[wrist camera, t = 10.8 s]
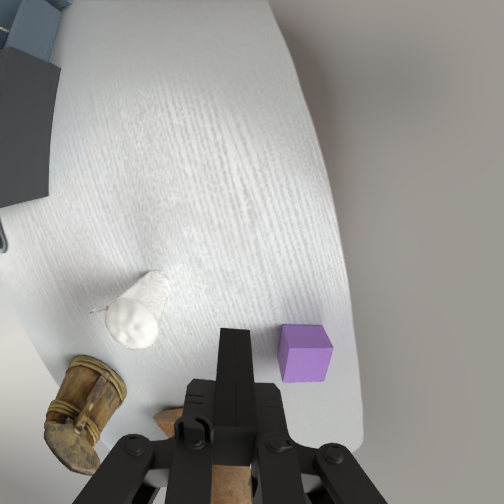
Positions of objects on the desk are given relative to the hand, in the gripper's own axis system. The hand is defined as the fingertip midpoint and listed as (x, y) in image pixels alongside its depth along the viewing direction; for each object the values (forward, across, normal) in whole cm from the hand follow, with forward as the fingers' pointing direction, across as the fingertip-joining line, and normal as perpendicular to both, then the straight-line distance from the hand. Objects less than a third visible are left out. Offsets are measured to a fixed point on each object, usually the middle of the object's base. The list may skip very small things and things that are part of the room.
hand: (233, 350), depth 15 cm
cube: (+14, +8, -8) cm, 18 cm away
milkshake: (+14, -8, -3) cm, 17 cm away
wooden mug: (+15, -16, -17) cm, 27 cm away
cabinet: (+14, -28, +13) cm, 34 cm away
